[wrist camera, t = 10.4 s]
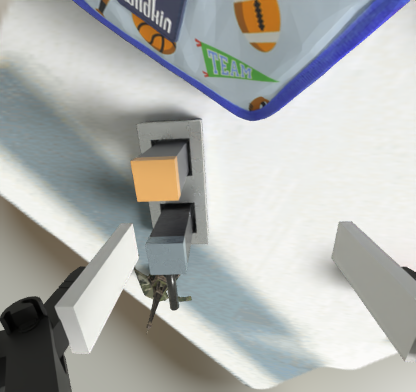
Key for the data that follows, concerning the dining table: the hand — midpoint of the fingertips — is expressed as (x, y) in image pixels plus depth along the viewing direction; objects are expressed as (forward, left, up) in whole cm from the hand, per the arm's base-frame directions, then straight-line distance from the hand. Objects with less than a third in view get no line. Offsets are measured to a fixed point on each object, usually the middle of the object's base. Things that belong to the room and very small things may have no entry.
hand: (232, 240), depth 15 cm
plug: (+7, -1, -24) cm, 25 cm away
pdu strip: (+7, +6, -25) cm, 26 cm away
